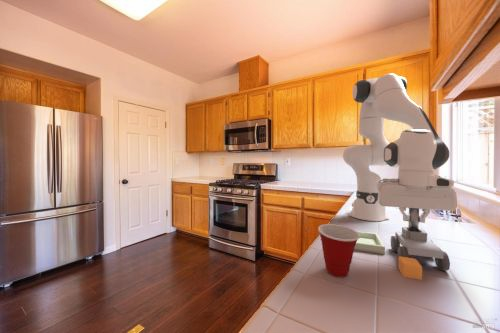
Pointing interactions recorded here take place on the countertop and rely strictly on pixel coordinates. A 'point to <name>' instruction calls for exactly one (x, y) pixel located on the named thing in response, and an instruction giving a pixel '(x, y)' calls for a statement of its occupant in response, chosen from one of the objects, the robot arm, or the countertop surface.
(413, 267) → the chock
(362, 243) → the tray
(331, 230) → the plastic cup
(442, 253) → the cart
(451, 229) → the countertop surface
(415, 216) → the pin
